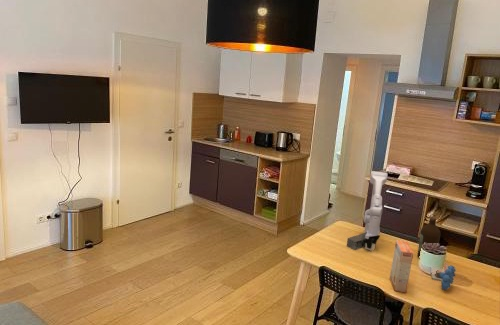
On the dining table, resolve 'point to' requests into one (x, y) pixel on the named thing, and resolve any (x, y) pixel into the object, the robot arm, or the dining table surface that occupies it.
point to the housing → (356, 241)
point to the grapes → (447, 277)
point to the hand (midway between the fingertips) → (370, 247)
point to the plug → (368, 248)
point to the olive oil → (429, 234)
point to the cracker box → (401, 266)
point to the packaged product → (437, 275)
